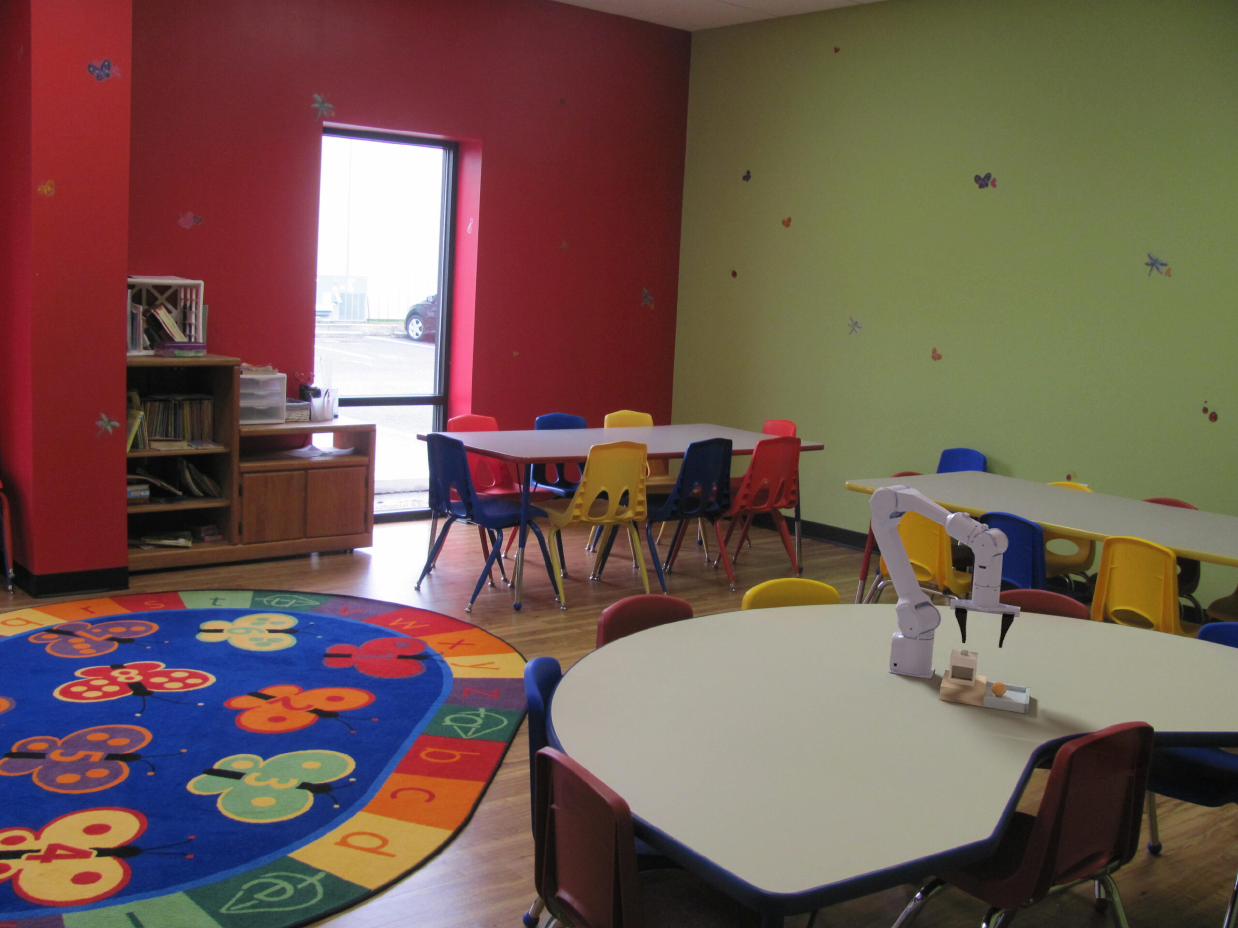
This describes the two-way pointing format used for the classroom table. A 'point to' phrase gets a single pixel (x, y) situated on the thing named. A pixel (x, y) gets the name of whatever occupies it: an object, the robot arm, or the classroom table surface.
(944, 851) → the classroom table surface
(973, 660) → the small drawer with knob
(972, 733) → the classroom table surface
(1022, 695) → the tray
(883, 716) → the classroom table surface
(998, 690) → the ball
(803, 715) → the classroom table surface
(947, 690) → the board
